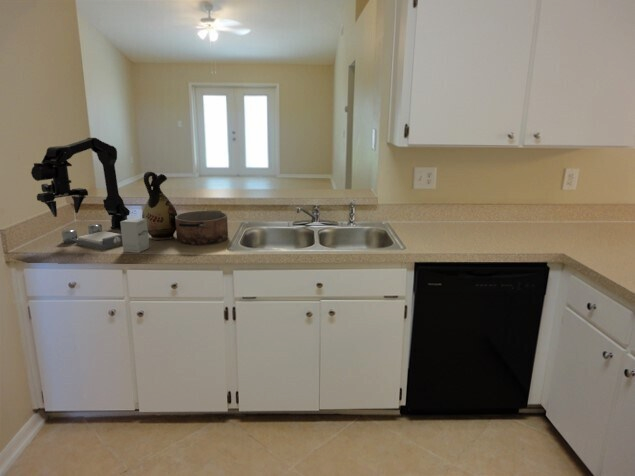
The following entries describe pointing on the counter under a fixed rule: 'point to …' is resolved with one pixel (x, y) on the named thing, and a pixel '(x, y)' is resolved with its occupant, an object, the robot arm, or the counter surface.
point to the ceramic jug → (158, 209)
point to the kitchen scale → (100, 240)
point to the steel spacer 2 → (94, 228)
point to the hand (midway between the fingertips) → (66, 214)
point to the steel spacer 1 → (69, 236)
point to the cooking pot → (201, 227)
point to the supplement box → (134, 235)
